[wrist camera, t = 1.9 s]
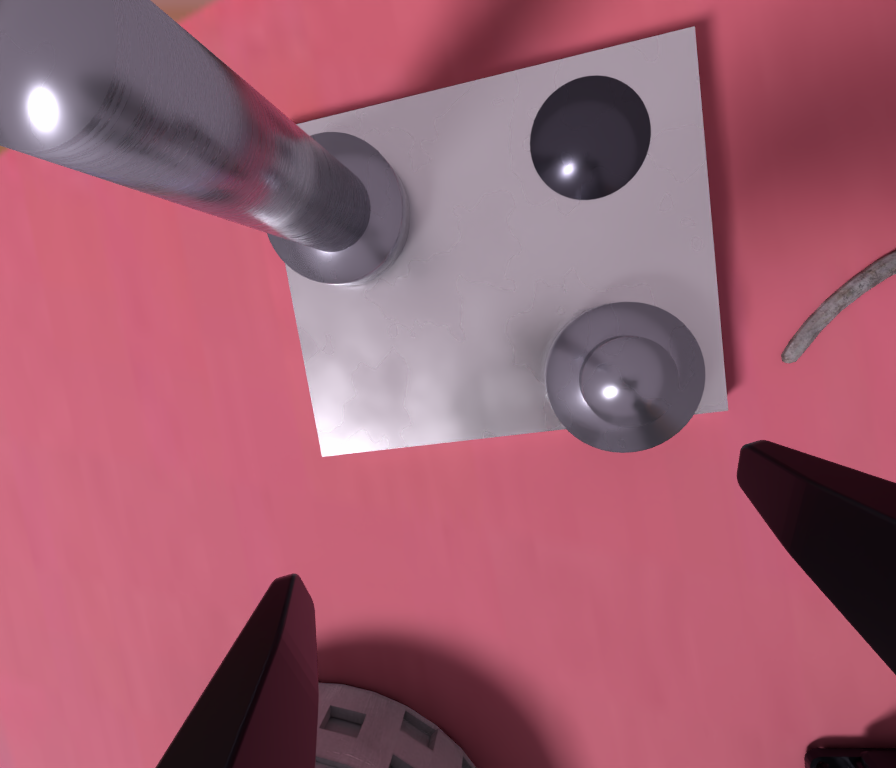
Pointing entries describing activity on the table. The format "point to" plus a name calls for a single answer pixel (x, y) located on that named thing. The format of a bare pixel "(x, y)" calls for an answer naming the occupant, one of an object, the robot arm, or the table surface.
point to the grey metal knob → (624, 376)
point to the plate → (516, 244)
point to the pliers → (838, 305)
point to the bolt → (192, 134)
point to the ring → (378, 733)
